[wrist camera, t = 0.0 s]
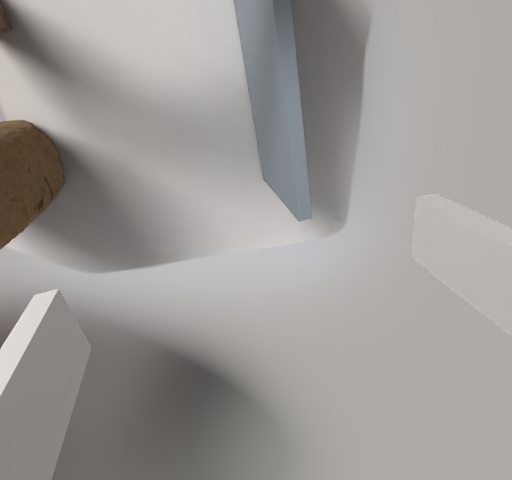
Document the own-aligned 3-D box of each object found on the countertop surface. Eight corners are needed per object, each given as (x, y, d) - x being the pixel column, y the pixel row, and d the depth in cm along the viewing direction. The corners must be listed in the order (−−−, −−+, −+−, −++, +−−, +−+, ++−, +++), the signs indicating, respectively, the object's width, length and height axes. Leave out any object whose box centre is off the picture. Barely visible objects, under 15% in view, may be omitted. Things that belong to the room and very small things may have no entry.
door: (224, -41, 30) (255, -111, 19) (261, -46, 30) (313, -119, 19) (261, 179, 40) (296, 221, 28) (288, 173, 40) (334, 212, 29)
